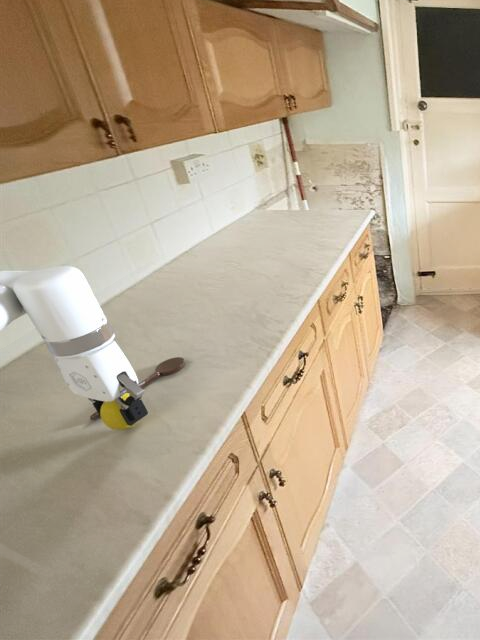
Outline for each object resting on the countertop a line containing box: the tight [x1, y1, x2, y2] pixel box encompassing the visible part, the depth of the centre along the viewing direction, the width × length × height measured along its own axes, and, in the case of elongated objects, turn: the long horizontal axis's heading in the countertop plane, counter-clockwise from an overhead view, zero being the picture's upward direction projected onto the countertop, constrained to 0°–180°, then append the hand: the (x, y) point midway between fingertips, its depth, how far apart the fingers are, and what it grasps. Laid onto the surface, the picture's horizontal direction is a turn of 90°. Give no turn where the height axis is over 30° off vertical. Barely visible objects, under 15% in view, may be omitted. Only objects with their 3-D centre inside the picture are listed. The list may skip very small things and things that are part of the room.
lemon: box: [100, 393, 138, 431], centre depth 74 cm, size 6×6×8 cm
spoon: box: [89, 356, 186, 421], centre depth 84 cm, size 18×5×1 cm, turn 167°
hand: (125, 415), depth 74 cm, fingers closed on lemon, 5 cm apart
